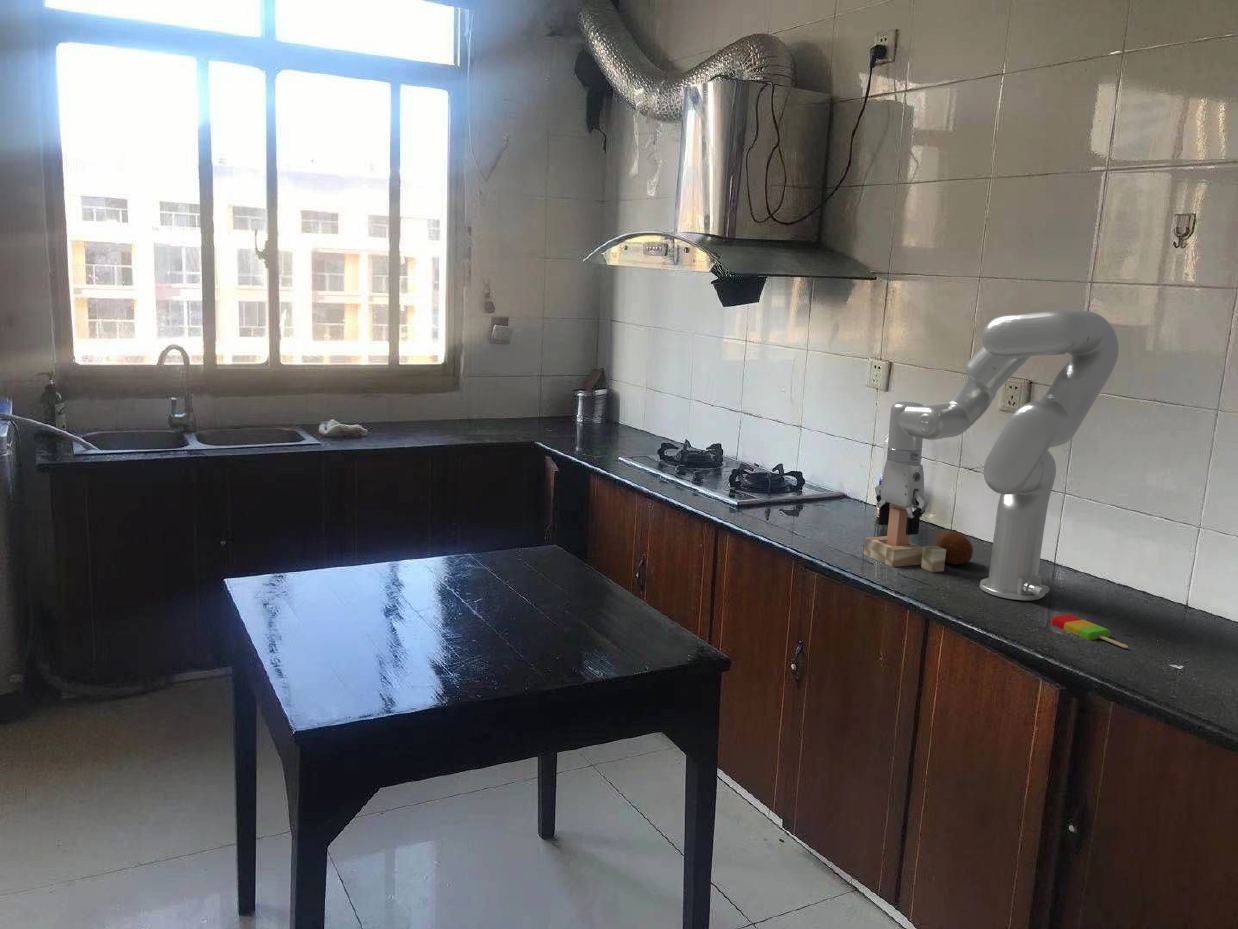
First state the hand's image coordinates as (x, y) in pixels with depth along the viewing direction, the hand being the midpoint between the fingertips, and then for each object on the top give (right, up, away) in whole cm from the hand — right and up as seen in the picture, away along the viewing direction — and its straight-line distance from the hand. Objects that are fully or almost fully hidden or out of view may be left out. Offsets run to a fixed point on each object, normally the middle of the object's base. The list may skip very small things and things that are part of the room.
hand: (897, 529), depth 225 cm
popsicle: (+24, -18, -43) cm, 52 cm away
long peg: (0, -7, +2) cm, 7 cm away
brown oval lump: (+13, -8, +1) cm, 15 cm away
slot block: (-1, -7, +2) cm, 7 cm away
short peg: (+6, -9, -5) cm, 12 cm away
